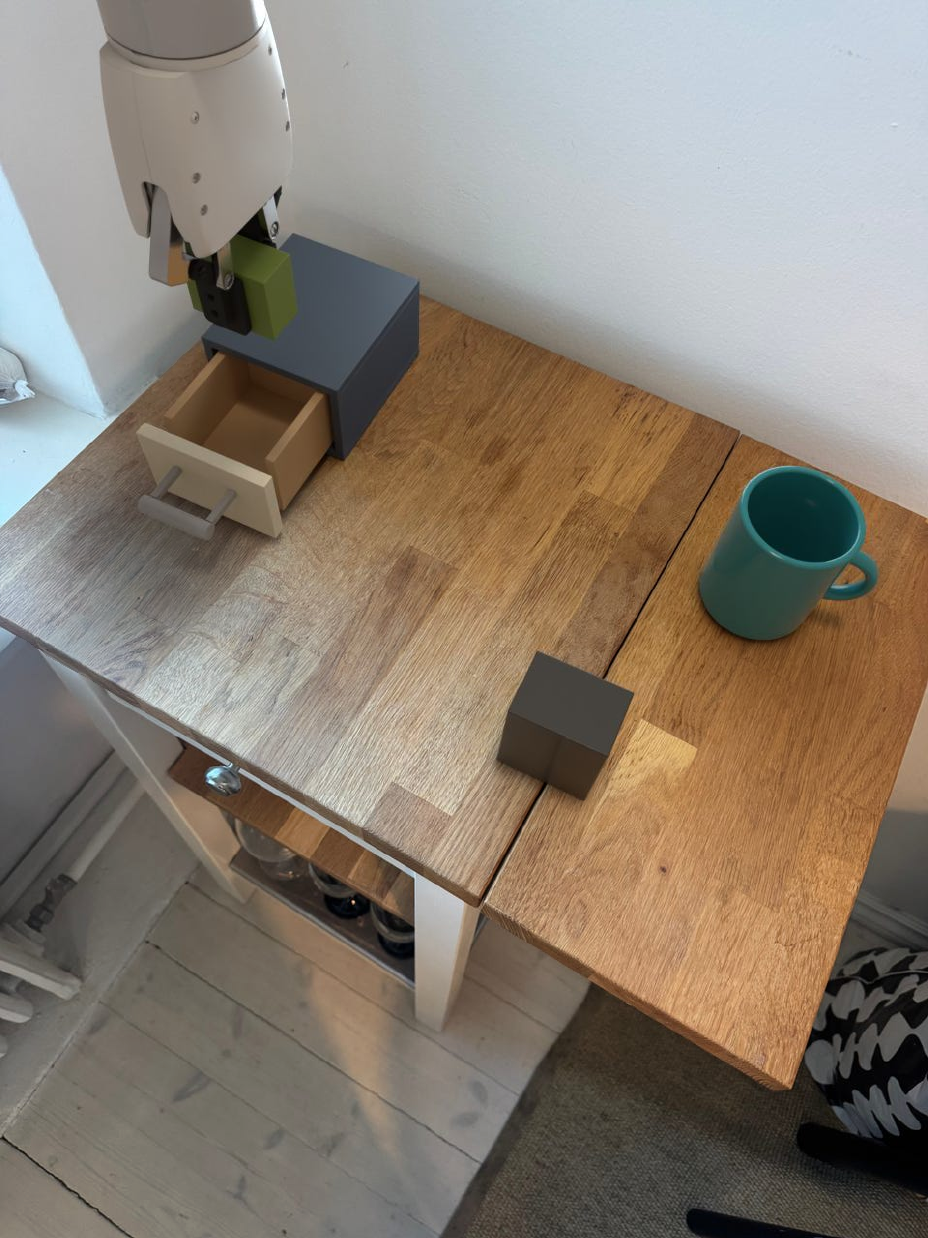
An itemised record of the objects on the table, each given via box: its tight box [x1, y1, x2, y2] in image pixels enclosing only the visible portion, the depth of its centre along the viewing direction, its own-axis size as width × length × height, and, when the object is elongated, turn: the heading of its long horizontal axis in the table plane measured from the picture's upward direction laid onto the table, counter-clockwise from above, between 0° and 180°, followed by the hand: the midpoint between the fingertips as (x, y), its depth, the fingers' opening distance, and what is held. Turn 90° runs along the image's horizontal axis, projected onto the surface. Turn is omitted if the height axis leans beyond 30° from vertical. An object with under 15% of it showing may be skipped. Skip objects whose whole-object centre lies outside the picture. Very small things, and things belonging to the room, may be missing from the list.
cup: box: [698, 465, 880, 641], centre depth 68 cm, size 9×12×11 cm
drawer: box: [135, 351, 334, 542], centre depth 73 cm, size 18×11×7 cm, turn 155°
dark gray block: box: [496, 650, 635, 801], centre depth 62 cm, size 7×5×9 cm
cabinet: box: [200, 232, 421, 461], centre depth 79 cm, size 15×13×9 cm
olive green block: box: [186, 234, 298, 341], centre depth 56 cm, size 6×3×4 cm, turn 64°
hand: (244, 305), depth 57 cm, fingers closed on olive green block, 3 cm apart
